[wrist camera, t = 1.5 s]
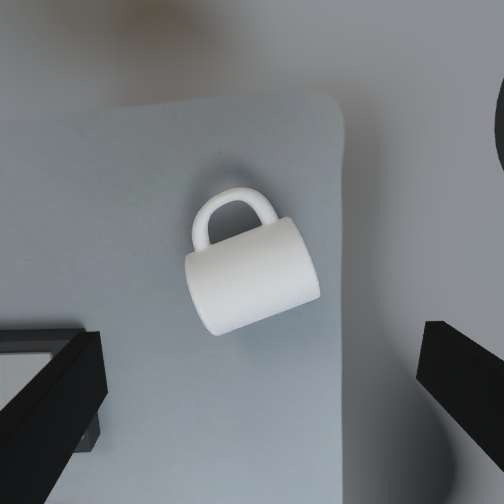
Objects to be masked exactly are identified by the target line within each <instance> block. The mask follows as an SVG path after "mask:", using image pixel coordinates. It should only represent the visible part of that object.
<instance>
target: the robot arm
mask: <svg viewBox="0 0 504 504" xmlns="http://www.w3.org/2000/svg"><path fill="white" fill-rule="evenodd" d="M416 379H417V380H418V381H419V382H420V383H421V384H422V385H423V386H424V388H426V390H427V391H428V392H429V393H430V394H431V395H432V396H433V397H434V398H435V399H436V400H437V401H438V402H439V404H441V406H442V407H443V408H444V409H445V410H446V411H447V412H448V413H449V414H450V415H451V416H452V417H453V419H454V420H455V421H456V422H457V423H458V424H459V425H460V426H461V427H462V428H463V429H464V430H465V431H466V432H467V433H468V435H469V436H470V437H471V438H472V439H473V440H474V441H475V442H476V443H477V444H478V445H479V446H480V447H481V448H482V450H483V451H484V452H485V453H486V454H487V455H488V456H489V457H490V458H491V459H492V460H493V461H494V462H495V463H496V464H497V466H498V467H499V468H500V469H501V470H502V471H503V472H504V361H503V360H501V359H500V358H498V357H497V356H495V355H494V354H492V353H491V352H489V351H488V350H486V349H485V348H483V347H482V346H480V345H479V344H477V343H476V342H474V341H473V340H471V339H470V338H468V337H466V336H465V335H463V334H462V333H461V332H459V331H457V330H456V329H455V328H453V327H452V326H450V325H449V324H447V323H445V322H444V321H426V323H425V329H424V334H423V340H422V346H421V352H420V358H419V364H418V369H417V375H416ZM107 393H108V389H107V382H106V374H105V367H104V360H103V353H102V345H101V338H100V331H97V332H78V333H77V334H76V335H75V336H74V337H73V338H72V339H71V340H70V341H69V342H68V343H67V344H66V345H65V346H64V347H63V348H62V349H61V350H60V351H59V352H58V353H57V354H56V355H55V356H54V357H53V358H52V359H51V360H50V361H49V362H48V363H47V364H46V365H45V366H44V367H43V368H42V369H41V370H40V371H39V372H38V373H37V374H36V375H35V376H34V377H33V379H32V380H31V381H30V382H29V383H28V384H27V385H26V386H25V387H24V388H23V389H22V390H21V391H20V392H19V393H18V394H17V395H16V396H15V397H14V398H13V399H12V400H11V401H10V402H9V403H8V404H7V405H6V406H5V407H4V408H3V409H2V410H1V411H0V504H44V503H45V501H46V499H47V497H48V496H49V494H50V492H51V490H52V489H53V487H54V485H55V484H56V482H57V480H58V478H59V477H60V475H61V473H62V471H63V470H64V468H65V466H66V464H67V463H68V461H69V459H70V458H71V456H72V454H73V452H74V451H75V449H76V447H77V445H78V444H79V442H80V440H81V438H82V437H83V435H84V433H85V431H86V430H87V428H88V426H89V425H90V423H91V421H92V419H93V418H94V416H95V414H96V412H97V411H98V409H99V407H100V405H101V404H102V402H103V400H104V398H105V397H106V395H107Z"/></svg>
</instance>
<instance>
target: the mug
mask: <svg viewBox="0 0 504 504" xmlns="http://www.w3.org/2000/svg"><path fill="white" fill-rule="evenodd" d="M234 200H241V201H244V202H246V203H248V204H249V205H250V206H251V207H252V208H253V209H254V210H255V212H256V213H257V215H258V217H259V218H260V220H261V222H262V225H261V226H260V227H257V228H254V229H252V230H249V231H246V232H244V233H241V234H239V235H236V236H233V237H231V238H228V239H226V240H223V241H220V242H218V243H215V244H211V243H210V241H209V236H208V222H209V219H210V216H211V215H212V213H213V212H214V211H215V210H216V209H217V208H219V207H220V206H222V205H224V204H226V203H228V202H231V201H234ZM192 241H193V246H194V250H195V251H194V252H192V253H189V254H188V255H187V256H186V258H185V274H186V279H187V284H188V288H189V291H190V294H191V297H192V300H193V303H194V305H195V308H196V310H197V312H198V314H199V316H200V318H201V320H202V322H203V323H204V325H205V327H206V328H207V329H208V330H209V332H210V333H212V334H213V335H215V336H219V335H221V334H224V333H227V332H229V331H232V330H235V329H238V328H240V327H243V326H246V325H248V324H251V323H254V322H256V321H259V320H262V319H264V318H267V317H270V316H272V315H275V314H278V313H280V312H283V311H286V310H288V309H291V308H294V307H296V306H299V305H302V304H304V303H307V302H310V301H312V300H315V299H318V298H319V297H320V286H319V282H318V278H317V274H316V271H315V268H314V265H313V262H312V260H311V257H310V254H309V252H308V249H307V247H306V245H305V242H304V240H303V238H302V236H301V234H300V232H299V230H298V228H297V226H296V225H295V223H294V222H293V220H292V219H291V218H290V217H287V216H286V217H283V218H280V219H279V218H278V216H277V214H276V212H275V210H274V209H273V207H272V205H271V204H270V202H269V201H268V200H267V199H266V198H265V197H264V196H263V195H262V194H261V193H259V192H258V191H256V190H254V189H251V188H246V187H237V188H232V189H228V190H226V191H223V192H221V193H219V194H217V195H216V196H214V197H213V198H211V199H210V200H209V201H208V202H206V203H205V204H204V205H203V207H202V208H201V209H200V210H199V212H198V213H197V215H196V217H195V219H194V222H193V226H192Z"/></svg>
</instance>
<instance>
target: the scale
mask: <svg viewBox="0 0 504 504" xmlns="http://www.w3.org/2000/svg"><path fill="white" fill-rule="evenodd" d="M78 332H85V329H84V328H82V329H39V330H0V411H1V410H2V409H3V408H4V407H5V406H6V405H7V404H8V403H9V402H10V401H11V400H12V399H13V398H14V397H15V396H16V395H17V394H18V393H19V392H20V391H21V390H22V389H23V388H24V387H25V386H26V385H27V384H28V383H29V382H30V381H31V380H32V379H33V377H34V376H35V375H36V374H37V373H38V372H39V371H40V370H41V369H42V368H43V367H44V366H45V365H46V364H47V363H48V362H49V361H50V360H51V359H52V358H53V357H54V356H55V355H56V354H57V353H58V352H59V351H60V350H61V349H62V348H63V347H64V346H65V345H66V344H67V343H68V342H69V341H70V340H71V339H72V338H73V337H74V336H75V335H76V334H77V333H78ZM99 435H100V429H99V422H98V415H97V412H96V414H95V416H94V418H93V419H92V421H91V423H90V425H89V426H88V428H87V430H86V431H85V433H84V435H83V437H82V438H81V440H80V442H79V444H78V445H77V447H76V449H75V451H74V452H73V453H79V452H91V451H92V449H93V447H94V445H95V443H96V441H97V439H98V437H99Z"/></svg>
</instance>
